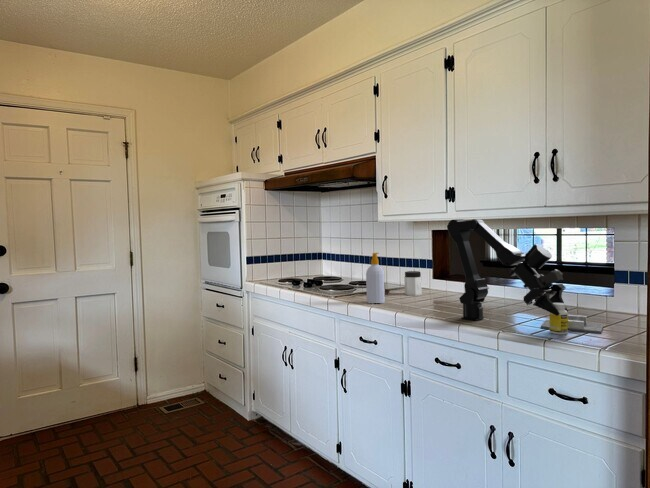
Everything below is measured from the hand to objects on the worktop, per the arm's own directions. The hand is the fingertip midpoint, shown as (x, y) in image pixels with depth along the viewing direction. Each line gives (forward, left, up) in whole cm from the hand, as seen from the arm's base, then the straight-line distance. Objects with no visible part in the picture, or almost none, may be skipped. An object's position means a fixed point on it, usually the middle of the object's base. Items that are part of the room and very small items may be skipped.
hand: (562, 313), depth 153 cm
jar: (-90, +37, -7) cm, 98 cm away
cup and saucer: (-107, +28, -7) cm, 110 cm away
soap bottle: (-88, +6, -7) cm, 89 cm away
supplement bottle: (-1, 0, -7) cm, 7 cm away
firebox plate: (-1, +11, -7) cm, 13 cm away
